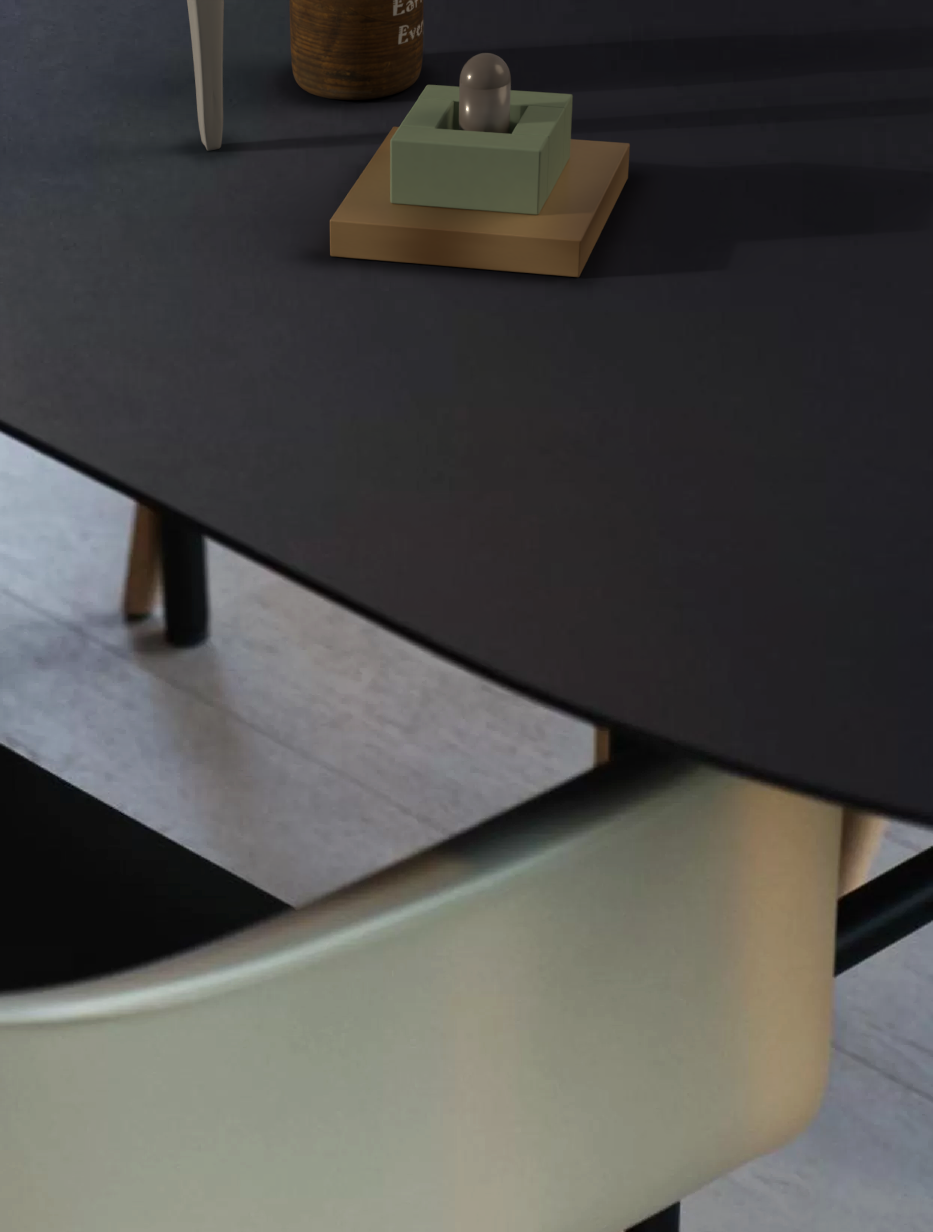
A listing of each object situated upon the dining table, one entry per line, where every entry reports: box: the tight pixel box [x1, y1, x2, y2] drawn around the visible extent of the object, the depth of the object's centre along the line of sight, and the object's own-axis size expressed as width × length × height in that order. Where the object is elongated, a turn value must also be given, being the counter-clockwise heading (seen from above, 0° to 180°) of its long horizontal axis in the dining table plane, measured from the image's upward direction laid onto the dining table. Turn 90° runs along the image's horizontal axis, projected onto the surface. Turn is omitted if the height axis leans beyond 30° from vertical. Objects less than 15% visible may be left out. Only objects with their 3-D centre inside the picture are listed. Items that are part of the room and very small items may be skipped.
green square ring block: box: [390, 84, 574, 215], centre depth 107 cm, size 6×6×3 cm
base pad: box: [329, 52, 631, 278], centre depth 107 cm, size 10×10×6 cm
